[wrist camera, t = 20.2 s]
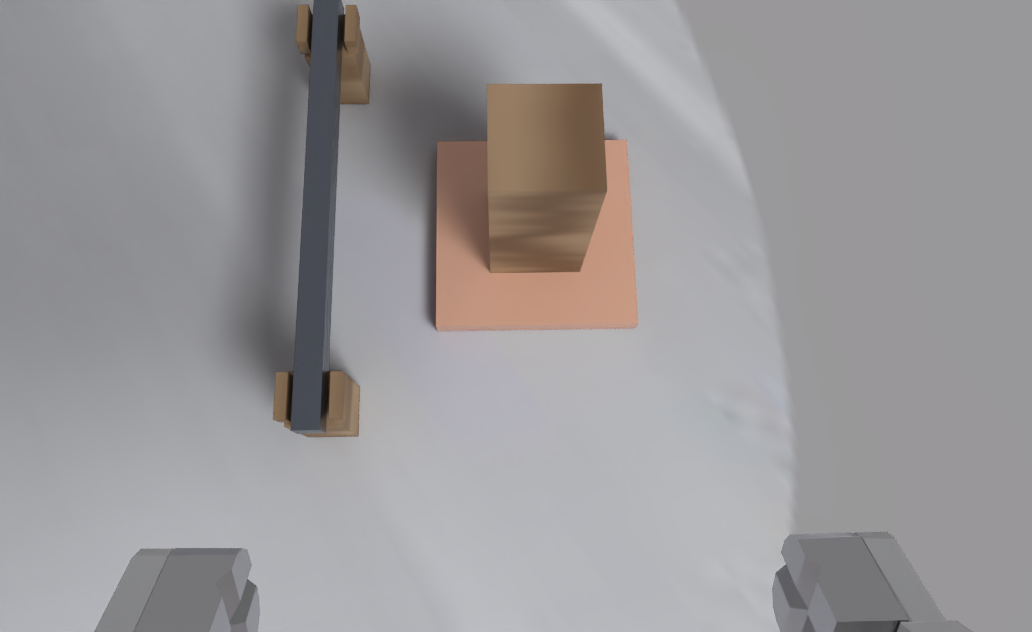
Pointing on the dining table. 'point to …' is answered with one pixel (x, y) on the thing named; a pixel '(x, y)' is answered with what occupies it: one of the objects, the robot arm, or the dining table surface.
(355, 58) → the hurdle posts
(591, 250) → the coaster
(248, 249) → the dining table surface
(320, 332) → the metal bar
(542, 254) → the walnut block
